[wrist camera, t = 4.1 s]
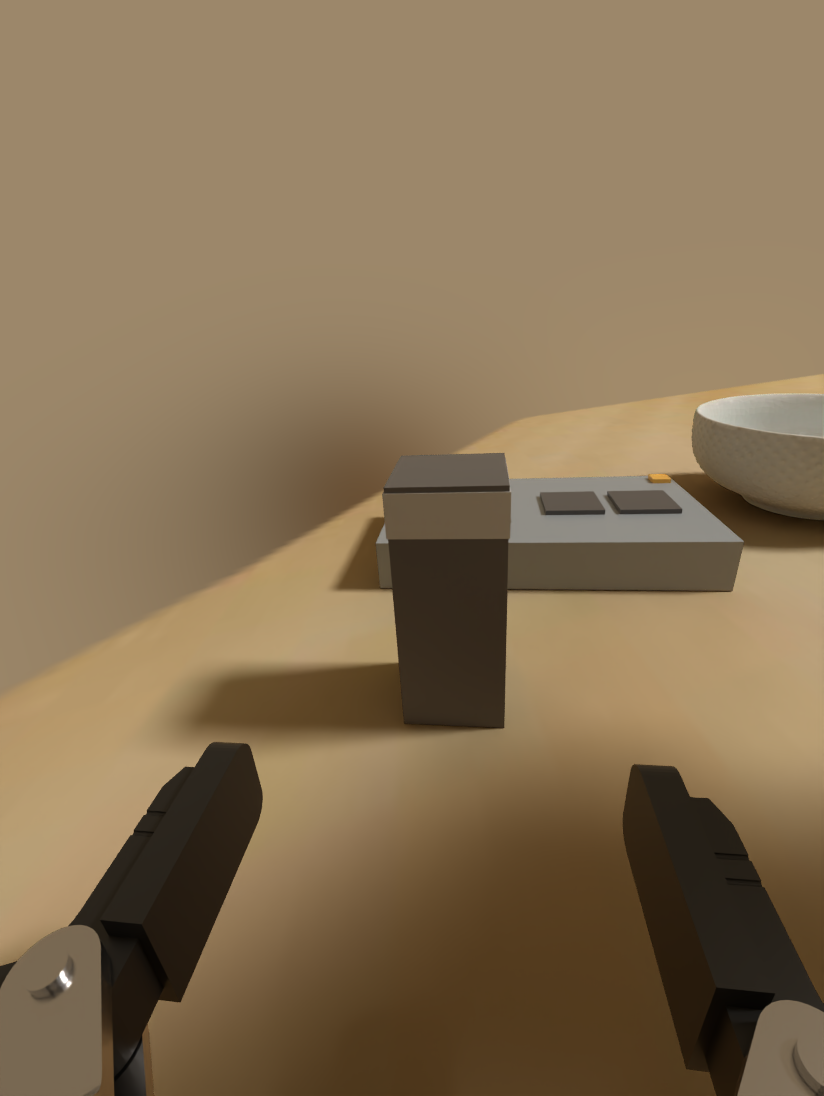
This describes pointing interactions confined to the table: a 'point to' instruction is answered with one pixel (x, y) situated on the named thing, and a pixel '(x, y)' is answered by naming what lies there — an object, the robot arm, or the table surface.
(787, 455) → the cereal bowl
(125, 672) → the table surface
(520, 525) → the power strip
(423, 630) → the plug
